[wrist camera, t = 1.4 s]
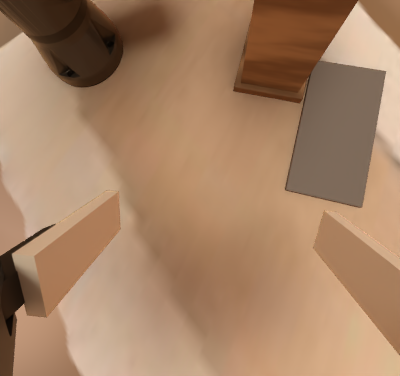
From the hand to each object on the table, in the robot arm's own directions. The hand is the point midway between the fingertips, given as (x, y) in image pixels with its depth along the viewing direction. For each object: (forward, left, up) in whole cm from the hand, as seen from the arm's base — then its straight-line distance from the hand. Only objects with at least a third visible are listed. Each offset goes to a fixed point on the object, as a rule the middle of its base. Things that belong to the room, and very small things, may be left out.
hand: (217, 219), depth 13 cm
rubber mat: (0, +25, -22) cm, 33 cm away
